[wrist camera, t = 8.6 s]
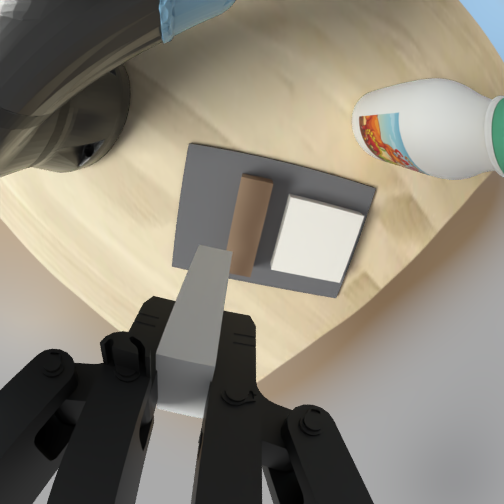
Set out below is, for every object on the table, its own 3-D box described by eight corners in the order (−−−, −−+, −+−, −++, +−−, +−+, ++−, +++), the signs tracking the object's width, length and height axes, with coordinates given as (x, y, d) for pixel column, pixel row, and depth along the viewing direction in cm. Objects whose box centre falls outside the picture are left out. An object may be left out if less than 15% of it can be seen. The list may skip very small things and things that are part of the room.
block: (224, 261, 31) (222, 271, 29) (242, 173, 27) (241, 176, 25) (250, 266, 32) (250, 277, 29) (272, 179, 28) (273, 183, 25)
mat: (172, 264, 32) (171, 266, 32) (189, 143, 26) (188, 143, 26) (335, 296, 34) (335, 298, 33) (374, 187, 28) (375, 188, 28)
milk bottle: (344, 90, 24) (480, 47, 6) (407, 92, 23) (555, 85, 5) (353, 161, 27) (489, 224, 9) (414, 158, 26) (557, 214, 8)
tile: (271, 269, 30) (339, 282, 30) (290, 197, 27) (364, 216, 27) (270, 262, 31) (336, 275, 32) (288, 193, 28) (358, 211, 29)
